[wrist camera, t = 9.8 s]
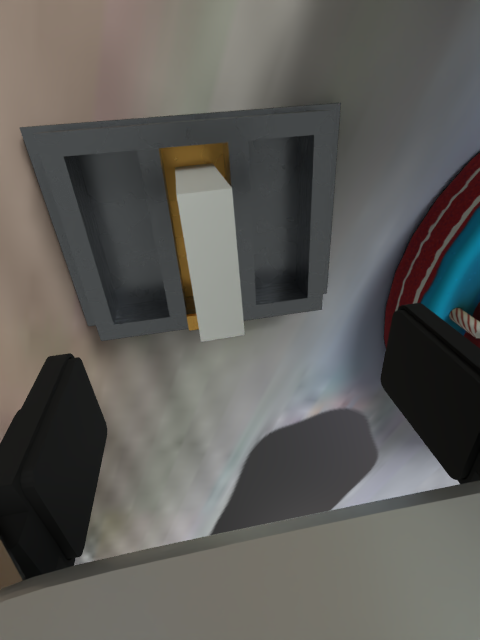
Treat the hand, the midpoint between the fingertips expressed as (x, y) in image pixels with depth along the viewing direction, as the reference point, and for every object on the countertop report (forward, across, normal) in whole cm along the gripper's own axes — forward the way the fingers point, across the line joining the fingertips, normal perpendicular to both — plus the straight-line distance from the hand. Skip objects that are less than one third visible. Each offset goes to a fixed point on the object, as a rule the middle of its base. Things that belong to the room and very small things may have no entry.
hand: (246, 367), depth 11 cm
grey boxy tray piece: (+18, 0, 0) cm, 18 cm away
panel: (+17, 0, 0) cm, 17 cm away
